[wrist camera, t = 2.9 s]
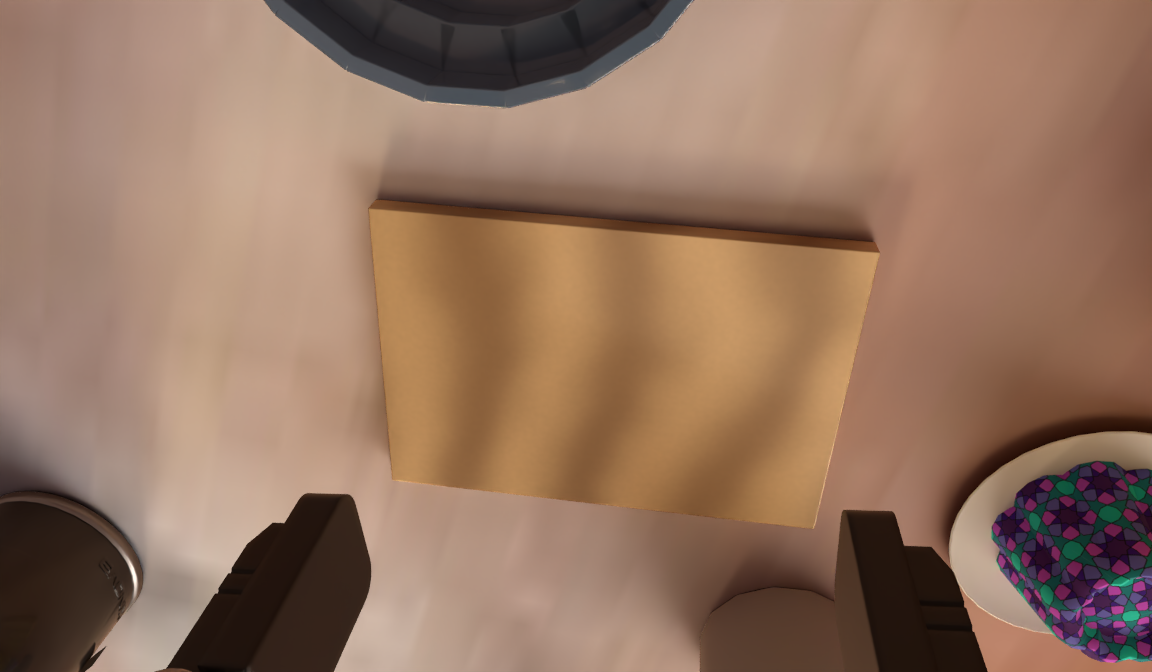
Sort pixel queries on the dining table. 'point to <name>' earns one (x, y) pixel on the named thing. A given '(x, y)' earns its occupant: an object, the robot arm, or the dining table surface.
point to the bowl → (481, 43)
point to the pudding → (1066, 544)
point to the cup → (772, 634)
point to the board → (616, 358)
